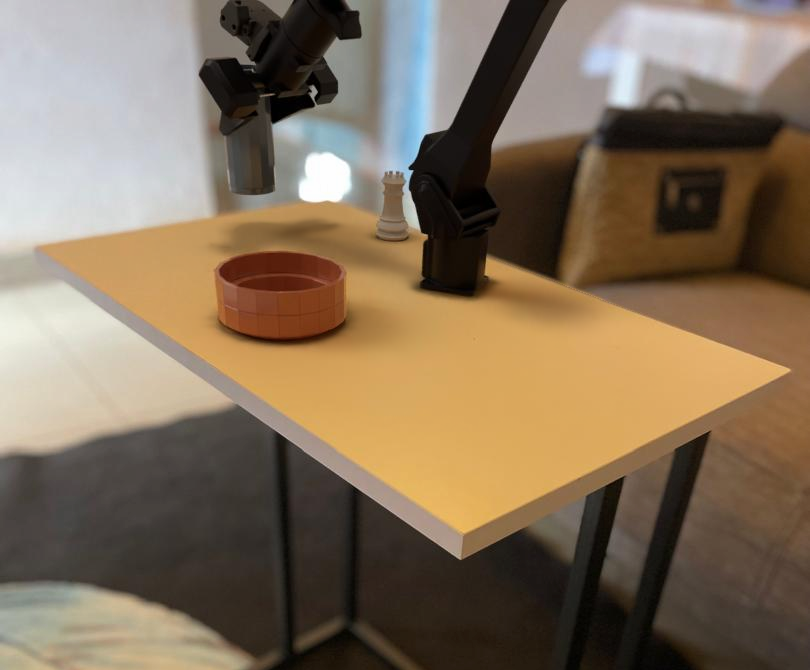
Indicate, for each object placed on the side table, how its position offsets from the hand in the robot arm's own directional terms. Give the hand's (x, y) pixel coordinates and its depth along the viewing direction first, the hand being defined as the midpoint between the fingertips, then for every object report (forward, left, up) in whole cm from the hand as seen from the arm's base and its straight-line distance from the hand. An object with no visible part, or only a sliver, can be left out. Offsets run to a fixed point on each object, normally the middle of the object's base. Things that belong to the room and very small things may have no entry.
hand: (240, 129), depth 105 cm
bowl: (-20, +26, -12) cm, 35 cm away
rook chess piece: (-18, -7, -12) cm, 23 cm away
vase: (-1, 0, -7) cm, 7 cm away
